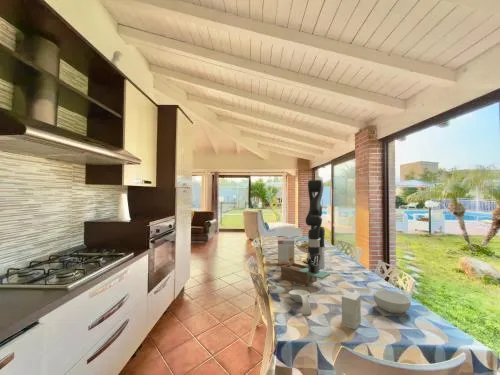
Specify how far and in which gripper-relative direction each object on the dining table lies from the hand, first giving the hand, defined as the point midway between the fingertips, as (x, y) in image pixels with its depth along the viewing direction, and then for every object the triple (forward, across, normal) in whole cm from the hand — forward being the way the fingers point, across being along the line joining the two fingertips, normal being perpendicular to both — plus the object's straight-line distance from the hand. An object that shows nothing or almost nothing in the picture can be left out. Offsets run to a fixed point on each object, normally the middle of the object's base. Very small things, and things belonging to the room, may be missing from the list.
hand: (313, 271), depth 158 cm
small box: (+9, +30, +37) cm, 49 cm away
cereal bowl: (+9, +1, +46) cm, 47 cm away
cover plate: (+2, 0, 0) cm, 2 cm away
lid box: (+9, 0, -12) cm, 15 cm away
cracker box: (+9, -24, -41) cm, 48 cm away
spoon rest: (+9, +30, +10) cm, 33 cm away
